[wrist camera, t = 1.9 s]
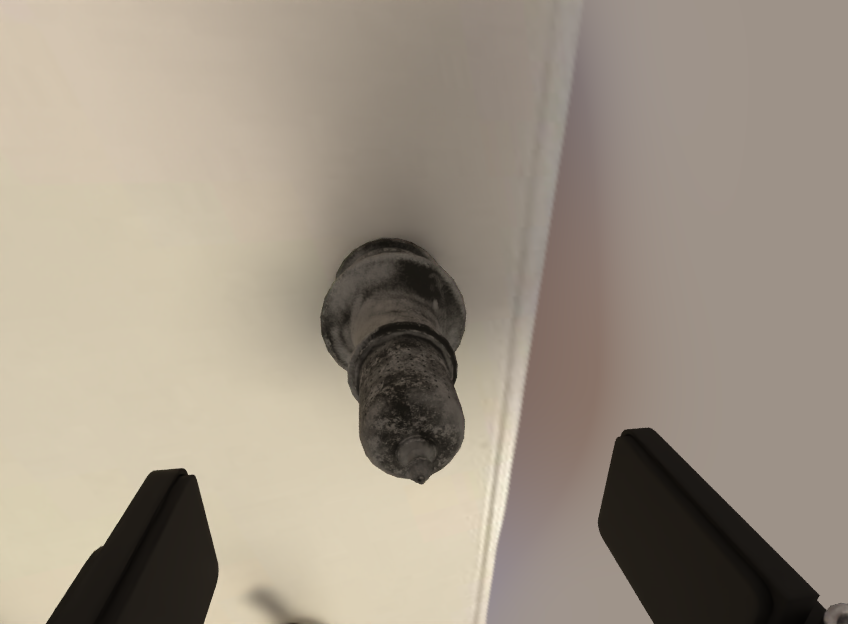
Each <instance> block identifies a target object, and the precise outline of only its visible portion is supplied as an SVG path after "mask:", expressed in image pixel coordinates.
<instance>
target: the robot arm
mask: <svg viewBox="0 0 848 624" xmlns="http://www.w3.org/2000/svg"><path fill="white" fill-rule="evenodd" d="M598 527H599V531H600V534H601V536H602V538H603V540H604V542H605V543H606V545H607V546H608V548H609V550H610V551H611V553H612V555H613V556H614V558H615V560H616V561H617V563H618V565H619V566H620V568H621V570H622V571H623V573H624V575H625V576H626V578H627V580H628V581H629V583H630V585H631V586H632V588H633V590H634V591H635V593H636V595H637V596H638V598H639V600H640V601H641V603H642V605H643V606H644V608H645V610H646V611H647V613H648V615H649V616H650V618H651V619H652V621H653V623H654V624H848V604H845V603H839V604H836V605H832V606H830V607H829V608H828V610H826V609H825V608H824V607H823V606H822V605H821V604H820V603H819V602H818V601H817V599H818V597H819V596H820V595H819V594H818V593H817V592H816V591H815V590H814V589H813V588H812V587H811V586H810V585H809V584H808V583H807V582H806V581H805V580H804V579H803V578H802V577H801V576H800V575H799V574H798V573H797V572H796V571H795V570H794V569H793V568H792V567H791V566H790V565H789V564H788V563H787V562H786V561H785V560H784V559H783V558H782V557H781V556H780V555H779V554H778V553H777V552H776V551H775V550H773V548H772V547H771V546H770V545H769V544H768V543H767V542H766V541H765V540H764V539H763V538H762V537H761V536H760V535H759V534H758V533H757V532H756V531H755V530H754V529H753V528H752V527H751V526H750V525H749V524H748V523H747V522H746V521H745V520H744V519H743V518H742V517H741V516H740V515H739V514H738V513H737V512H736V511H735V510H734V509H733V508H732V507H731V506H729V504H728V503H727V502H726V501H725V500H724V499H723V498H722V497H721V496H720V495H719V494H718V493H717V492H716V491H715V490H714V489H713V488H712V487H711V486H710V485H708V483H707V482H706V481H704V479H703V478H702V477H701V476H700V475H699V474H698V473H697V472H696V471H695V470H694V469H693V468H692V467H691V466H690V465H689V464H688V463H687V462H686V461H685V460H684V459H683V458H682V457H681V456H680V455H678V453H677V452H676V451H675V450H674V449H673V448H672V447H671V446H670V445H669V444H668V443H667V442H666V441H665V440H664V439H663V438H662V437H660V435H659V434H657V433H656V431H654V430H653V429H651V428H639V429H627V430H624V431H623V432H622V434H621V436H620V437H618V438H617V439H616V441H615V445H614V450H613V454H612V459H611V464H610V468H609V472H608V477H607V481H606V486H605V491H604V495H603V500H602V505H601V509H600V513H599V518H598ZM218 571H219V570H218V561H217V557H216V553H215V549H214V546H213V542H212V538H211V534H210V530H209V526H208V522H207V518H206V514H205V510H204V506H203V502H202V498H201V494H200V491H199V487H198V483H197V479H196V477H195V476H194V475H188V473H187V471H186V470H185V469H183V468H179V469H168V470H156V471H152V472H151V473H150V474H149V475H148V476H147V478H146V479H145V481H144V483H143V484H142V486H141V487H140V489H139V490H138V492H137V494H136V495H135V497H134V498H133V500H132V501H131V503H130V505H129V506H128V508H127V509H126V511H125V513H124V514H123V516H122V517H121V519H120V520H119V522H118V524H117V525H116V527H115V528H114V530H113V532H112V533H111V535H110V536H109V538H108V539H107V541H106V543H105V544H104V546H102V547H100V548H98V549H97V550H96V551H94V552H93V553H92V555H91V556H90V557H89V559H88V560H87V561H86V563H85V564H84V566H83V567H82V569H81V570H80V572H79V574H78V575H77V577H76V578H75V580H74V581H73V583H72V584H71V586H70V587H69V589H68V590H67V592H66V594H65V595H64V597H63V598H62V600H61V601H60V603H59V604H58V606H57V607H56V609H55V610H54V612H53V614H52V615H51V617H50V618H49V620H48V621H47V623H46V624H204V621H205V618H206V615H207V612H208V609H209V605H210V602H211V599H212V596H213V593H214V590H215V587H216V584H217V579H218Z"/></svg>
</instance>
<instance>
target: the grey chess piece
mask: <svg viewBox="0 0 848 624" xmlns="http://www.w3.org/2000/svg"><path fill="white" fill-rule="evenodd" d="M320 319H321V332H322V337H323V339H324V342H325V344H326V347H327V350H328V352H329V353H330V354H331V356H332V357H333V358H334V359H335V361H336V362H337V363H338V365H340V366H341V367H342V368H343V369H345V370H346V371H347V373H348V384H349V387H350V389H351V392H352V395H353V396H354V397H355V399H356V400H357V401H358V403H359V436H360V440H361V443H362V446H363V449H364V451H365V454H366V456H367V457H368V458H369V460H370V461H371V462H372V463H373V464H374V465H375V466H376V467H378V468H379V469H381V470H382V471H384V472H385V473H387V474H390V475H392V476H395V477H398V478H405V479H411V480H413V481H415V482H416V483H419V484H424V483H425V481H427V480H428V479H429V477H430V476H431V475H432V474H434V473H436V472H438V471H439V470H441V469H442V468H444V467H445V466H446V465H447V464H448V463H449V462H450V461H451V460H452V459H453V457H454V456H455V455H456V453H457V452H458V451H459V449H460V447H461V444H462V442H463V439H464V430H465V419H464V415H463V411H462V407H461V404H460V402H459V399H458V396H457V393H456V390H455V388H454V384H455V381H456V378H457V367H458V364H457V360H456V356H455V351H456V350H457V348H458V347H459V345H460V342H461V339H462V336H463V334H464V331H465V322H466V310H465V305H464V300H463V296H462V294H461V292H460V290H459V289H458V287H457V285H456V283H455V281H454V280H453V279H452V278H451V277H450V275H449V274H448V273H447V272H446V271H445V270H444V269H443V268H442V267H440V266H439V265H437V264H436V262H435V260H434V259H433V258H432V257H431V256H430V255H429V254H428V253H427V252H426V251H425V250H424V249H422V248H420V247H419V246H417V245H415V244H413V243H412V242H408V241H404V240H400V239H379V240H375V241H371V242H368V243H366V244H364V245H362V246H360V247H359V248H357V249H355V250H354V251H353V252H352V253H351V254H350V255H349V256H348V257H347V258H346V259H345V260H344V261H343V263H342V265H341V266H340V268H339V270H338V272H337V274H336V279H335V281H334V282H333V284H332V286H331V287H330V289H329V291H328V293H327V295H326V296H325V298H324V303H323V307H322V312H321V316H320Z"/></svg>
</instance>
